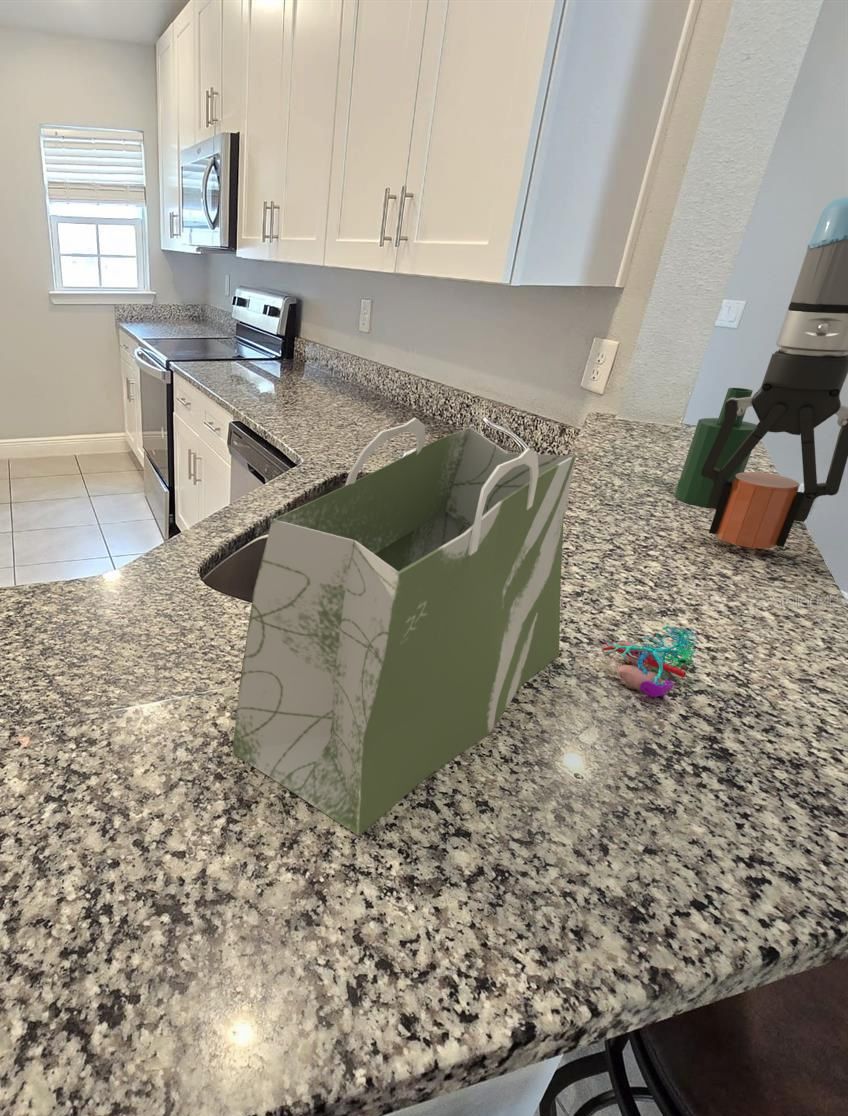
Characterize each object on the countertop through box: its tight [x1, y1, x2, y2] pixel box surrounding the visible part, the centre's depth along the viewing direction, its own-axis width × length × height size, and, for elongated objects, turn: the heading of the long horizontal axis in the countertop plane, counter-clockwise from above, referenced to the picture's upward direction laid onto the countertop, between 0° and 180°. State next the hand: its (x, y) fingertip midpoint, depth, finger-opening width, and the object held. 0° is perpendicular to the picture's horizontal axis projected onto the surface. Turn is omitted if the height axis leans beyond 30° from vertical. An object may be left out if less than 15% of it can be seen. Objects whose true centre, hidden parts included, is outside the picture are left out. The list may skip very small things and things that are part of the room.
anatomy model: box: [602, 625, 699, 698], centre depth 60 cm, size 5×8×7 cm
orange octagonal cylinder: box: [714, 471, 800, 549], centre depth 86 cm, size 7×7×8 cm
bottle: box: [674, 387, 757, 509], centre depth 102 cm, size 8×8×17 cm
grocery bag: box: [232, 417, 577, 837], centre depth 52 cm, size 32×14×23 cm, turn 136°
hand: (745, 536), depth 87 cm, fingers closed on orange octagonal cylinder, 7 cm apart
